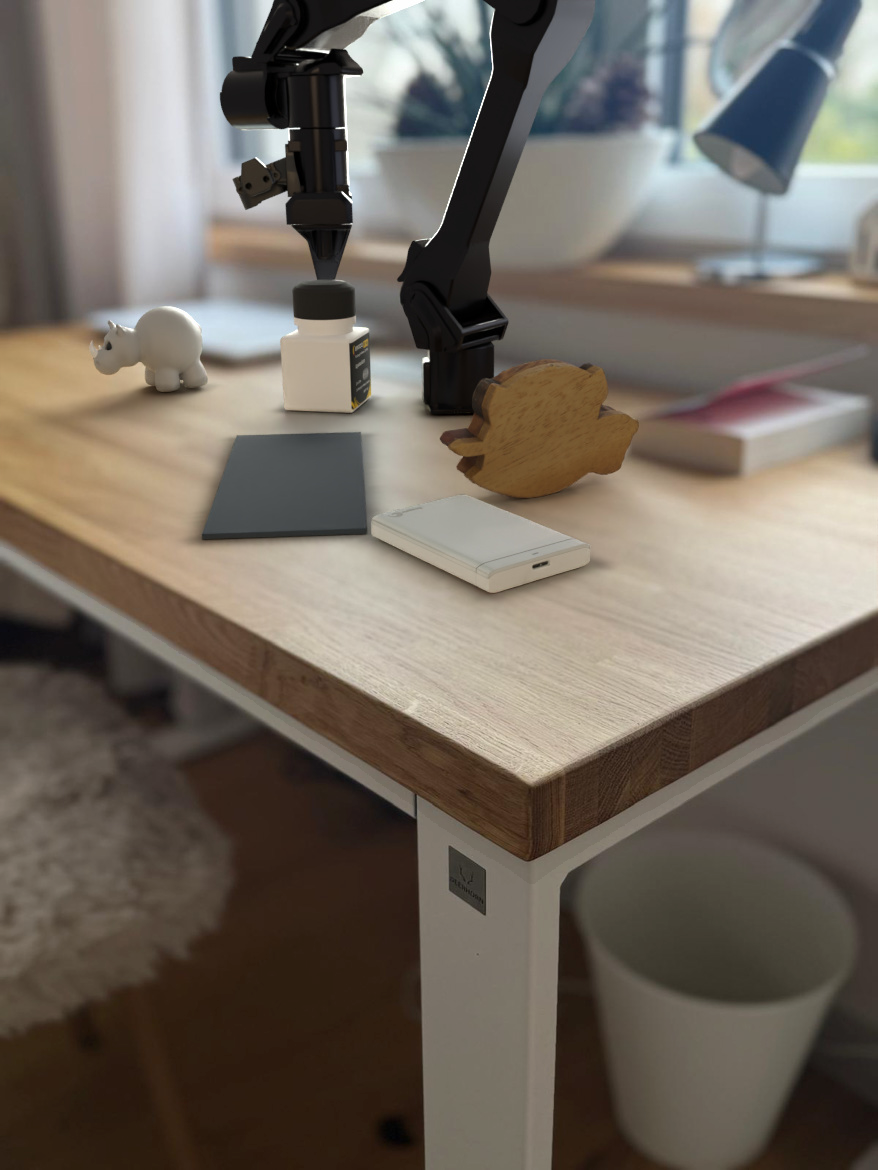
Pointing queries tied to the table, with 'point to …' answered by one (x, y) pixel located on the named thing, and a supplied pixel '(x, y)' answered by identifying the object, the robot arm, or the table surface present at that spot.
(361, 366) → the medicine bottle
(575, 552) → the hard drive
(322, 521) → the slate mat
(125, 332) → the chubby cartoon animal
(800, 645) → the table surface
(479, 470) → the wooden carving
